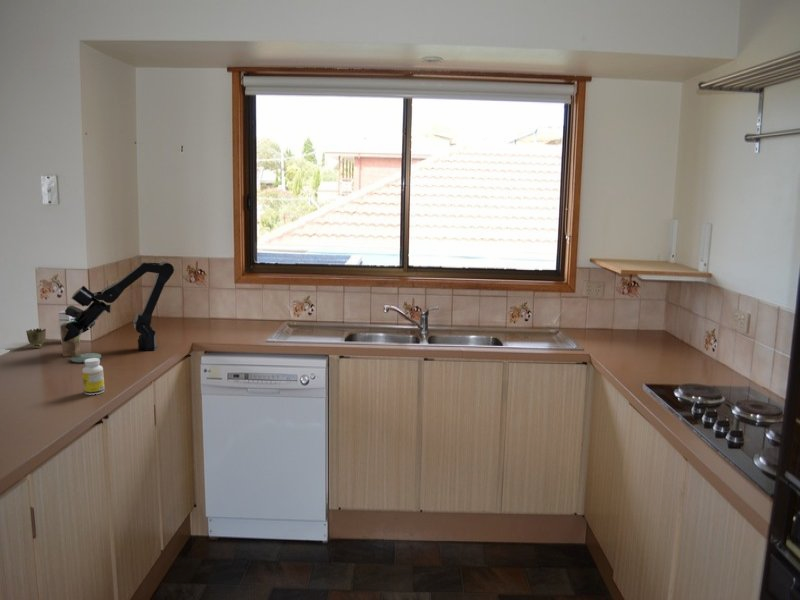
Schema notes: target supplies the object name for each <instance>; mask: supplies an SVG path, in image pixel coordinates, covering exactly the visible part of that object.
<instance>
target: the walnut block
mask: <svg viewBox="0 0 800 600" xmlns="http://www.w3.org/2000/svg"><path fill="white" fill-rule="evenodd" d="M66 324H67V323H64V324H63V325H61V336H60V339H61V338H62V343H61V345H62V346H61V347H62V357H73V356H75V355H79V354H81V345H80V341H79V336H77V337H75V338H72V339H70V340H68V341H66V342H65V341H64V340H63V339H64V338H65V336H66V334H67V332H68V329H67V328H65V326H66Z"/></svg>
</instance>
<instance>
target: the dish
mask: <svg viewBox="0 0 800 600" xmlns="http://www.w3.org/2000/svg"><path fill="white" fill-rule="evenodd" d="M90 358H98V359H100V360H101V359H102V354H100V353H97V352H88V353H87V352H86V353H80V354H78V355H75V356H70V359H71V362H73V363H81V364H82V362H83V363H85V360H86V359H90Z"/></svg>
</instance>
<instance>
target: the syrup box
mask: <svg viewBox="0 0 800 600" xmlns="http://www.w3.org/2000/svg"><path fill="white" fill-rule="evenodd" d="M65 310H66V309H65ZM65 310H62V311H58V312H57V315H58V316H57V317H58V323H59V325H58V326H59V336H60V343H61V344H62V338H61V325H63V324H64V323H69V322H71V321H75V320H74V319H75V318H74V317H71V316H69V315H65ZM75 322H76V321H75ZM80 341H81V335H79V342H80Z"/></svg>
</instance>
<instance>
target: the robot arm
mask: <svg viewBox="0 0 800 600" xmlns="http://www.w3.org/2000/svg"><path fill="white" fill-rule="evenodd" d="M174 272H175V267H174V266H173V264H172V263H170V262H168V261H162V262H160V263H159V262H147V261H142V262H141V263H140V264H139V265H138V266H136V267H135V268H134V269H133V270H131V271H130V272H128V273H127V274H126V275H125V276H123V277H122V278H121V279H120V280H118V281H117V282H115V283H112V284H111V285H108V286H107V287H104V288H103V289H102V290H100V291H97V292H92V291H91V290H90V289H88V288H87V287H86V286H85V285H82V286H81V287H80V288H79V289H77V290H76V291H75V292H74V293H73V294H72V296H71V299H72V300H73V301H75V302H76V303H77V304H79V305H81V307H87V308H85V309H84V310H83V309H81V308H79V307H77V306H74V305H69V306H67V307H66V308H65V315H69V316H71V317H74V318H75V319H74V320H75V321H76V322H75V321H71V322H69V323H67V324H66V326H65V328H67V329H68V332H67V334H66V336H65V338H64V339H63V340H64V341H65V342H66V341H68V340H70V339H72V338H75V337H77V336H79V335H80V336H81V335H82V334H84V333H85V332H87V331H89V330H90V329H92V328H94V326H95V325H96V321H97V320H99V317H100V316H101V315H102V314H103V313H104V312H107V313H109V314H110V313H111V311H112V308H111V307H112V305H111V304H112V303H114V302H115V301H116V300H117V299H118V298H119V297H120V296H121V295H122V293H123V292H124V291H125V290H126V289H127V288H129V287H130V286H131V285H132V284H133V283H135V282H136V281H137V280H139V279H140V278H141V277H142V276H143V275H145V274H147V273H153V274H155V281H154V283H153V285H152V288H151V290H150V292H149V295H148V297H147V300H146V302H145V304H144V307H143V309H142V311H141V312H140V313H139V312H136V314H135V317H134V319H133V320H132V321H133V327H134V330H135V331H136V332H137V333H138V334H140V335H138V338H137V347H138V351H139V352H141V351H142V352H143V351H144V352H145V351H149V350H150V351H151V352H153V351H155V350H156V349H157V348H158V345H157V336H156V331H155V329H154V328H153V327H152V326H151V324H152V318H153V313H154V311H155V309H156V306H157V303H158V302H159V299H160V296H161V294H162V291H164V287H165V285H166V284H167V282H169V280H170V279H171V278H172V276H173V274H174Z"/></svg>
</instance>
